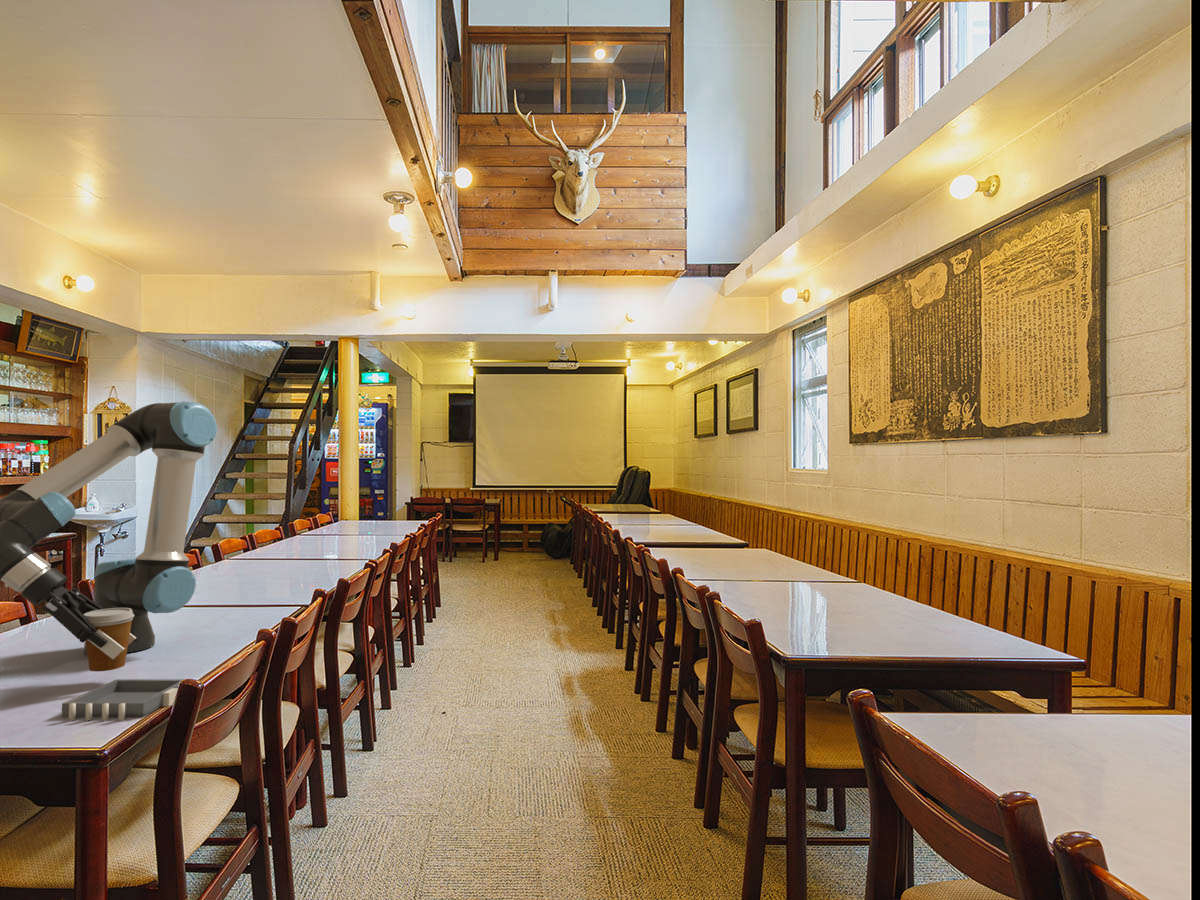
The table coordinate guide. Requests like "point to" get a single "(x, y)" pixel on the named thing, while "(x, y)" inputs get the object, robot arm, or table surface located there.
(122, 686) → the grey tray
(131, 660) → the table surface
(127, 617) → the disposable coffee cup
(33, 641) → the table surface
